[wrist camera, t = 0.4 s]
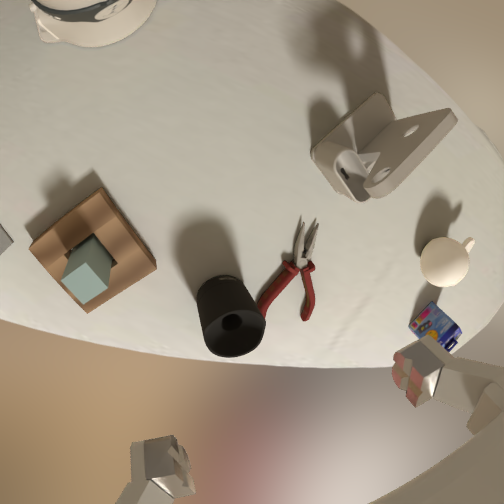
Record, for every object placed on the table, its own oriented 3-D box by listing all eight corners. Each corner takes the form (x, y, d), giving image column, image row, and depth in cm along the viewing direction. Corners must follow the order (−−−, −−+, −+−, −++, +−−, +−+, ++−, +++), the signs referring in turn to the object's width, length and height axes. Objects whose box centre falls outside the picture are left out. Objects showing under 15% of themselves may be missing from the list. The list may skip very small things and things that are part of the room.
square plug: (73, 247, 42) (60, 280, 34) (95, 231, 42) (85, 262, 34) (91, 269, 44) (83, 304, 37) (113, 254, 44) (108, 287, 37)
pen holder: (258, 291, 56) (279, 328, 47) (220, 325, 57) (235, 365, 49) (222, 261, 51) (238, 298, 42) (182, 300, 52) (191, 341, 44)
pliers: (335, 222, 54) (343, 228, 52) (305, 315, 63) (310, 323, 61) (276, 216, 50) (282, 223, 48) (251, 318, 59) (255, 327, 57)
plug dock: (33, 241, 39) (28, 248, 37) (101, 187, 39) (99, 192, 37) (89, 304, 47) (87, 313, 45) (156, 260, 47) (156, 269, 45)
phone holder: (337, 197, 52) (408, 246, 37) (304, 153, 46) (378, 190, 31) (402, 134, 50) (481, 162, 34) (377, 88, 44) (463, 102, 29)
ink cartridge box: (431, 299, 76) (465, 331, 64) (436, 307, 79) (468, 338, 67) (407, 326, 78) (439, 360, 66) (412, 332, 81) (443, 365, 68)
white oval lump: (401, 260, 66) (435, 259, 73) (428, 300, 59) (459, 294, 65) (431, 218, 58) (462, 223, 65) (464, 259, 51) (491, 258, 57)
